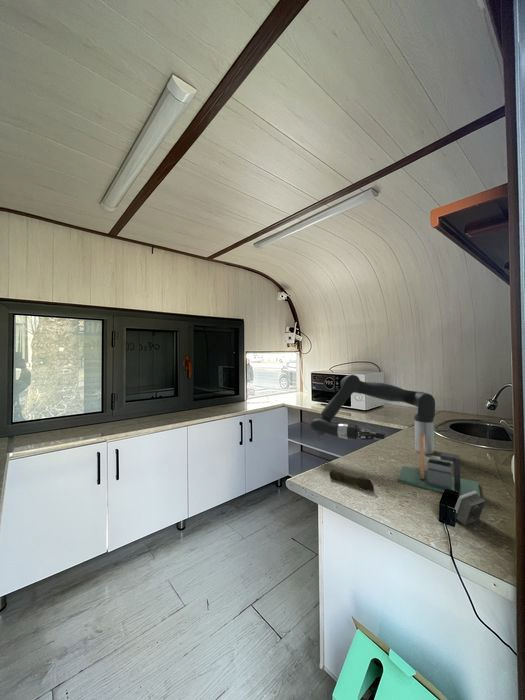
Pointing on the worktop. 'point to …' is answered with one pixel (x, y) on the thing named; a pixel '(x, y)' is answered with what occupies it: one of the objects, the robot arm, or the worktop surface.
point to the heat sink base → (439, 476)
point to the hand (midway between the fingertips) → (384, 436)
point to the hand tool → (353, 480)
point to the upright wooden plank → (426, 457)
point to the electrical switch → (469, 507)
